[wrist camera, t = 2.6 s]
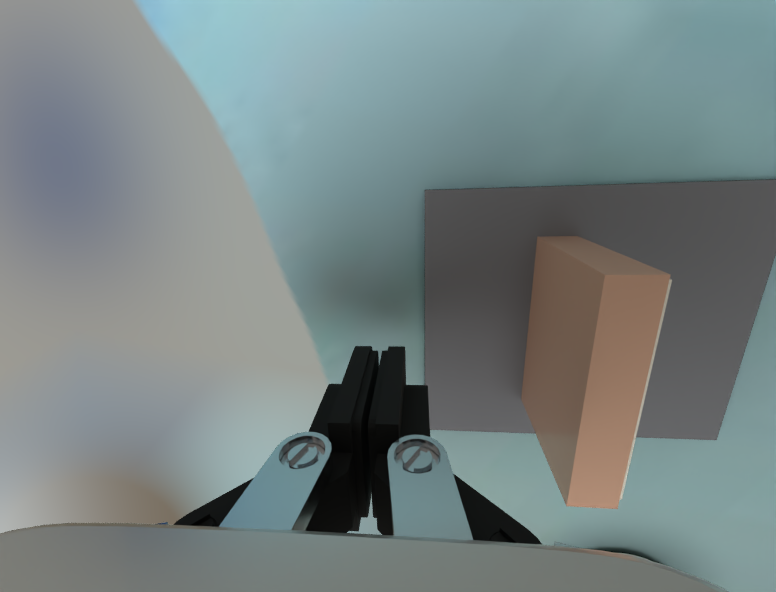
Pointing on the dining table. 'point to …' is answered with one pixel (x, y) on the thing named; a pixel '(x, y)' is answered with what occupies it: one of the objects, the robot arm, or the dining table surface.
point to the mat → (620, 234)
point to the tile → (590, 362)
